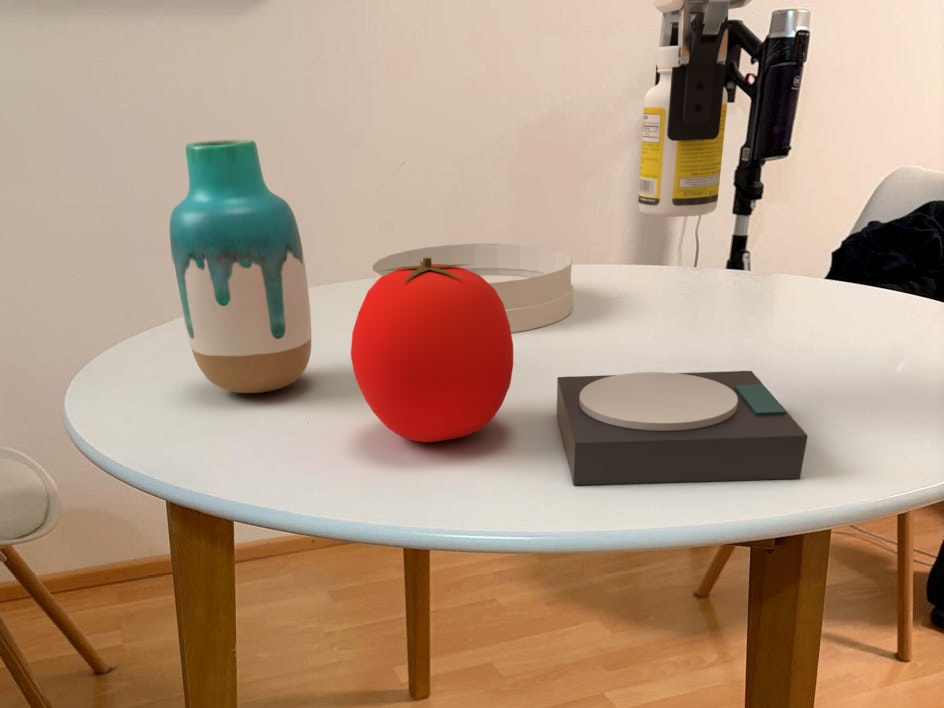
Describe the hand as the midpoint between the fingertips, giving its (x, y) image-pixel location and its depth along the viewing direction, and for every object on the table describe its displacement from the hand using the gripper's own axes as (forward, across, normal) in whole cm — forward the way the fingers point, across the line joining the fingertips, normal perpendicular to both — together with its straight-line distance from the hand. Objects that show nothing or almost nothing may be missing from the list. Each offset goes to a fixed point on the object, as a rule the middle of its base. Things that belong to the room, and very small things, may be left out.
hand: (683, 132), depth 61 cm
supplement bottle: (+5, 0, 0) cm, 5 cm away
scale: (+19, -6, 0) cm, 20 cm away
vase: (+19, +9, +34) cm, 40 cm away
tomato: (+20, -4, +18) cm, 27 cm away
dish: (+20, +35, +15) cm, 43 cm away
